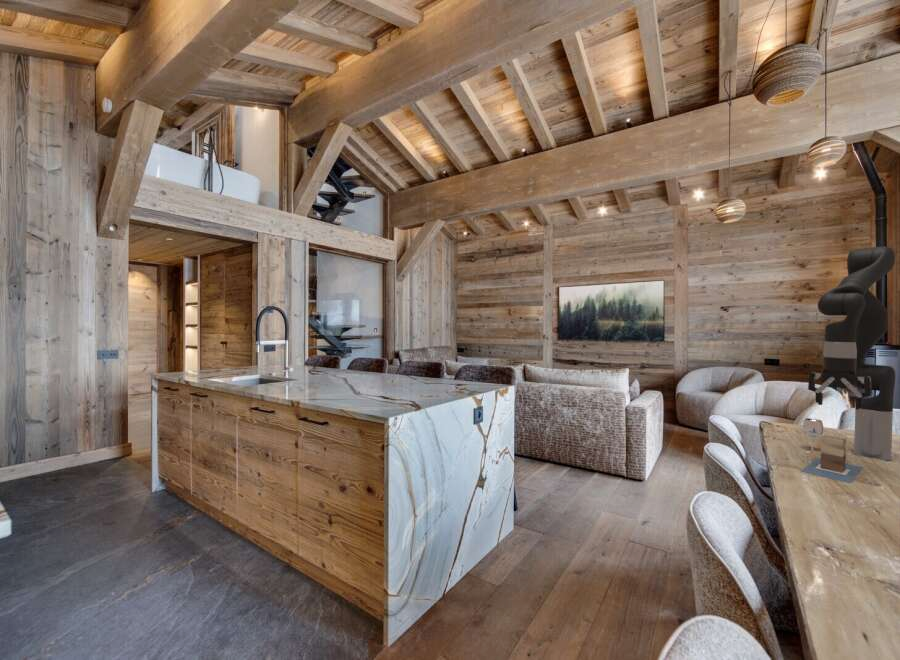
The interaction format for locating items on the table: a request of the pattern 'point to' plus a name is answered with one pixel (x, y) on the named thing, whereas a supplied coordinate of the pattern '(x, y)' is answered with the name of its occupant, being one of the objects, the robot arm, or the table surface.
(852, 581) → the table surface
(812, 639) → the table surface
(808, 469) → the board
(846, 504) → the table surface
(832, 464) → the walnut block
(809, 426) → the wineglass
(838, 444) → the maple block
